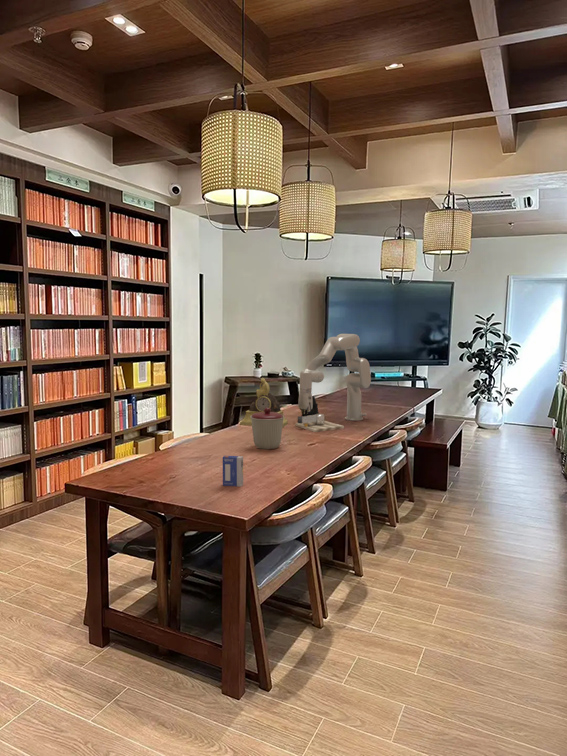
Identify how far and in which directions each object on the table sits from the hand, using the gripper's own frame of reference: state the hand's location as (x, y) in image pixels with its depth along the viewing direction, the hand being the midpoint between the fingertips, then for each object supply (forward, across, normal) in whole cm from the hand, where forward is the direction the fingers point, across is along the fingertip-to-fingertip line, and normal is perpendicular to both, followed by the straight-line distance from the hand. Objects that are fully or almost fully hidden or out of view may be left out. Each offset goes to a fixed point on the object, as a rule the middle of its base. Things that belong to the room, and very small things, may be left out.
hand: (304, 419), depth 325 cm
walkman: (+8, -84, +88) cm, 122 cm away
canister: (+7, -34, +45) cm, 57 cm away
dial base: (+5, -3, -10) cm, 11 cm away
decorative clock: (+6, +22, +17) cm, 28 cm away
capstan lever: (+3, -3, -3) cm, 5 cm away
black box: (+4, +30, -23) cm, 38 cm away
